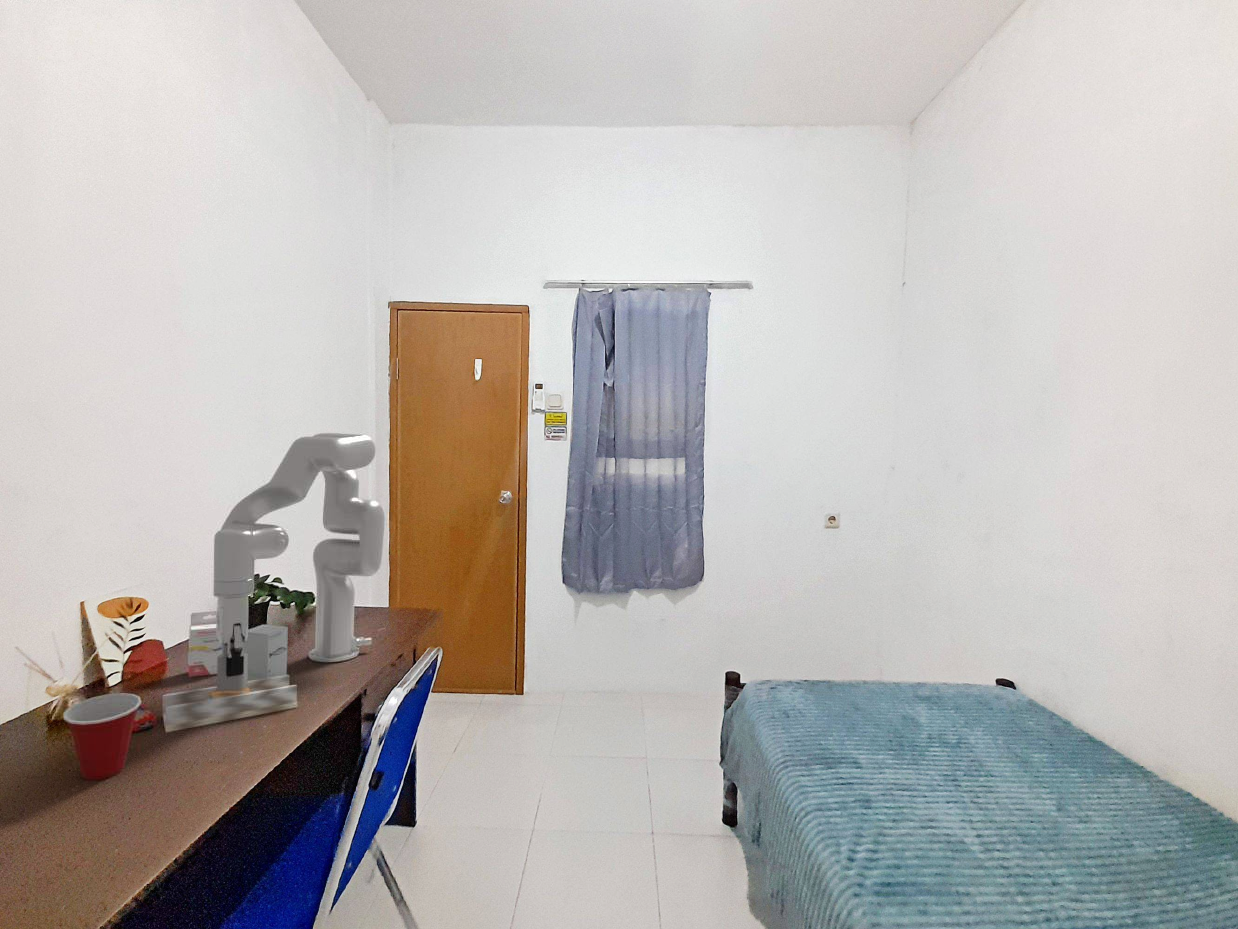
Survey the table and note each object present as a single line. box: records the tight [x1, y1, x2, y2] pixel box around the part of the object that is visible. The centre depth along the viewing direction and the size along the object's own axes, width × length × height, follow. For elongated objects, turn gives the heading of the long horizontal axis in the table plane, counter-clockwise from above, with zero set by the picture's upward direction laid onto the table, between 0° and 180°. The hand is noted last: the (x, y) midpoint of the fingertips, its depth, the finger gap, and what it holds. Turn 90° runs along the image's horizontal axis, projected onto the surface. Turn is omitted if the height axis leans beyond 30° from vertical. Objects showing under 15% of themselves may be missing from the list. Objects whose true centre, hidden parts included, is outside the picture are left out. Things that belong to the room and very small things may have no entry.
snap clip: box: [211, 687, 250, 699], centre depth 146 cm, size 7×6×1 cm
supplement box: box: [243, 624, 289, 681], centre depth 164 cm, size 7×7×13 cm
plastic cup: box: [62, 692, 142, 781], centre depth 118 cm, size 11×11×12 cm
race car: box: [132, 704, 158, 733], centre depth 138 cm, size 13×5×4 cm, turn 61°
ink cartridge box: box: [187, 610, 222, 678], centre depth 168 cm, size 9×5×15 cm, turn 123°
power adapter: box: [216, 643, 248, 691], centre depth 145 cm, size 3×5×12 cm, turn 96°
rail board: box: [161, 674, 298, 733], centre depth 146 cm, size 24×10×4 cm, turn 127°
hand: (232, 670), depth 146 cm, fingers closed on power adapter, 4 cm apart
